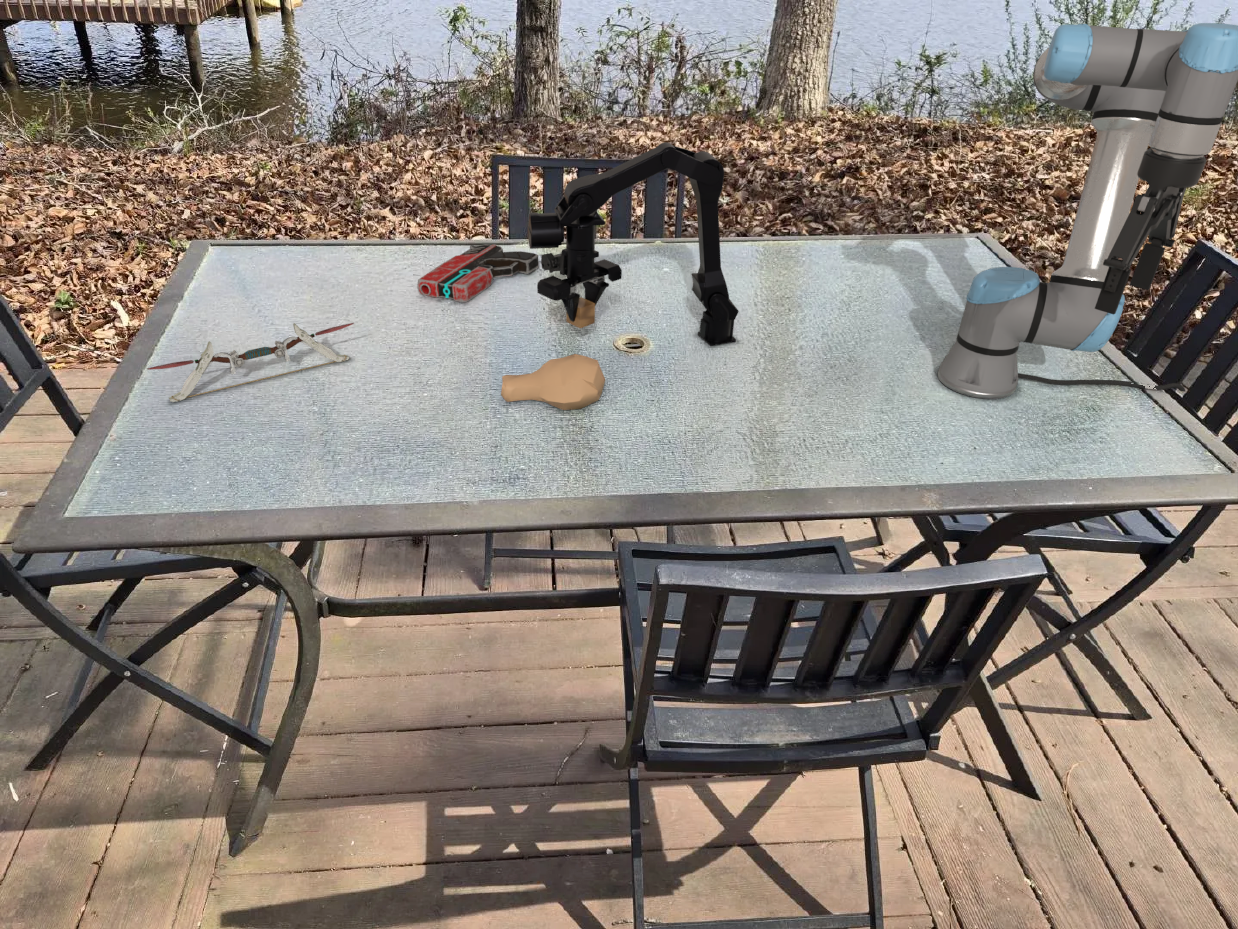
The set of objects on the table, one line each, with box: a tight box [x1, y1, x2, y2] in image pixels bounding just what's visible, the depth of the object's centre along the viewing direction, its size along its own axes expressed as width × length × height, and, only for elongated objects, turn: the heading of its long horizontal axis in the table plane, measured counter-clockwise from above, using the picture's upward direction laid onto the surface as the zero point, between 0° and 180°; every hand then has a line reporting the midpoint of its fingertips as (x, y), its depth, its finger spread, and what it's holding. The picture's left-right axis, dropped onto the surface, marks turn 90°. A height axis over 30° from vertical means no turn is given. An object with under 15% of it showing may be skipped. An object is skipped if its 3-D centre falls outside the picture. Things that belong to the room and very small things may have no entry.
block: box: [565, 296, 596, 329], centre depth 183 cm, size 4×4×4 cm
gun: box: [416, 243, 540, 303], centre depth 216 cm, size 4×31×19 cm
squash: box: [500, 353, 606, 411], centre depth 166 cm, size 11×20×9 cm, turn 90°
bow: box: [146, 322, 355, 403], centre depth 169 cm, size 39×2×10 cm, turn 124°
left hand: (580, 317), depth 184 cm, fingers closed on block, 4 cm apart
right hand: (1122, 298), depth 130 cm, fingers open, 13 cm apart
